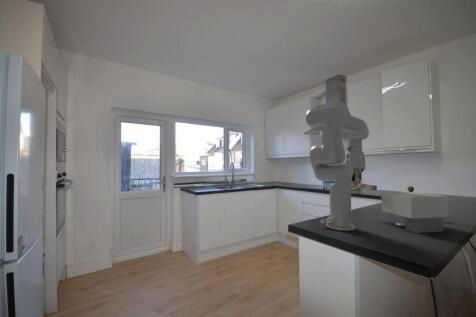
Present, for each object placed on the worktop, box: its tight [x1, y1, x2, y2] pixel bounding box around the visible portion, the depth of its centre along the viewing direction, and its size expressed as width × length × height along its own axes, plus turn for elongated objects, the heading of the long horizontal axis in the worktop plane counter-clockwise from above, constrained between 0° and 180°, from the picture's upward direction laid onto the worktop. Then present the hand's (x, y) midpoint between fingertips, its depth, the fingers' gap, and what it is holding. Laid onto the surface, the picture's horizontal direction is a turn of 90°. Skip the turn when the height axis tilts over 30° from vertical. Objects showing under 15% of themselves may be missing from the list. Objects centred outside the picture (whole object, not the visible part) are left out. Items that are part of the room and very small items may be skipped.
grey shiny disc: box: [395, 222, 405, 228], centre depth 107 cm, size 5×5×1 cm
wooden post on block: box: [351, 169, 378, 191], centre depth 120 cm, size 16×3×12 cm, turn 10°
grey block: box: [381, 191, 449, 234], centre depth 105 cm, size 20×17×16 cm
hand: (355, 180), depth 126 cm, fingers closed on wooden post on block, 3 cm apart
